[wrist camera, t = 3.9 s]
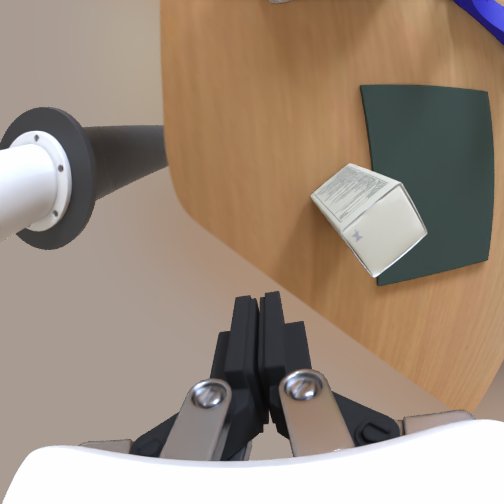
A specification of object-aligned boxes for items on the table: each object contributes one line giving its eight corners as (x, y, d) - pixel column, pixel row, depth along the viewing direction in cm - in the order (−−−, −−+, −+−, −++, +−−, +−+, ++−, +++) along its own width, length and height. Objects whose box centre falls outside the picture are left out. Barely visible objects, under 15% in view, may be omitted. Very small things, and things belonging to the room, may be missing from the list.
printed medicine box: (335, 230, 27) (370, 282, 18) (307, 195, 26) (334, 233, 17) (377, 197, 26) (431, 234, 17) (352, 160, 25) (401, 179, 15)
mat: (376, 284, 30) (378, 286, 29) (359, 85, 22) (360, 85, 21) (486, 258, 28) (487, 260, 28) (485, 91, 20) (487, 91, 20)
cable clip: (513, 29, 16) (543, 23, 10) (510, 52, 17) (542, 49, 12) (442, -32, 14) (468, -49, 9) (437, -11, 16) (466, -28, 10)
